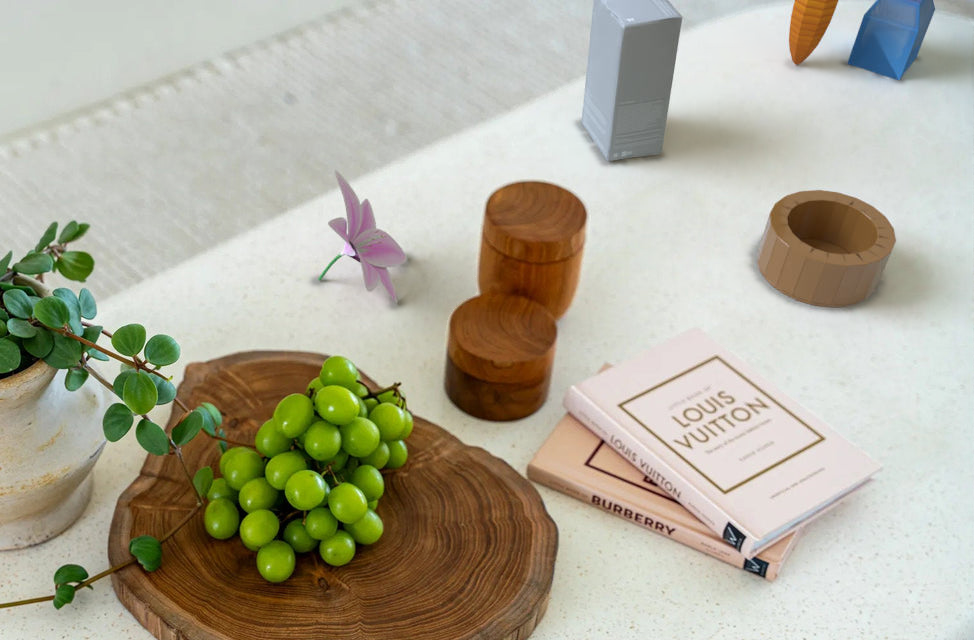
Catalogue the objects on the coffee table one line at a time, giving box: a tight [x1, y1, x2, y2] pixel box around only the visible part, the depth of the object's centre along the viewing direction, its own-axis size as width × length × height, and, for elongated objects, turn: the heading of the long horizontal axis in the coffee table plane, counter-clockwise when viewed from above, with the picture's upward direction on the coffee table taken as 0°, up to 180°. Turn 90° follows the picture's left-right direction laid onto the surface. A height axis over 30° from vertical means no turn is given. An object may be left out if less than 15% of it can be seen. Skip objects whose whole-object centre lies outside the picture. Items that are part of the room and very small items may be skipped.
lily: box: [317, 169, 408, 304], centre depth 105 cm, size 12×12×10 cm
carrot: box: [788, 0, 839, 66], centre depth 130 cm, size 5×5×15 cm
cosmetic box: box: [580, 0, 683, 162], centre depth 119 cm, size 8×7×16 cm
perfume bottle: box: [846, 0, 936, 81], centre depth 132 cm, size 6×6×12 cm
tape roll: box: [756, 189, 897, 308], centre depth 108 cm, size 11×11×5 cm
